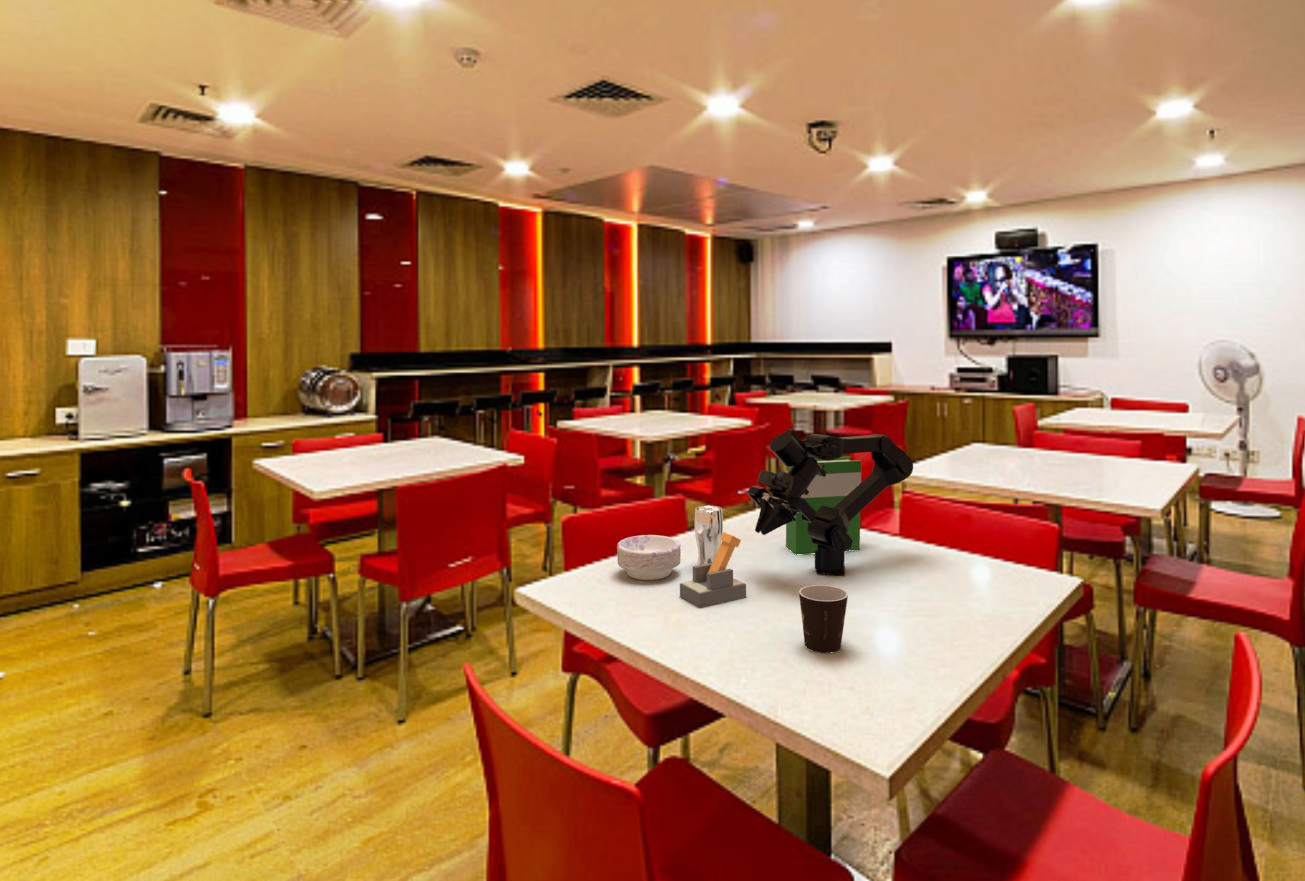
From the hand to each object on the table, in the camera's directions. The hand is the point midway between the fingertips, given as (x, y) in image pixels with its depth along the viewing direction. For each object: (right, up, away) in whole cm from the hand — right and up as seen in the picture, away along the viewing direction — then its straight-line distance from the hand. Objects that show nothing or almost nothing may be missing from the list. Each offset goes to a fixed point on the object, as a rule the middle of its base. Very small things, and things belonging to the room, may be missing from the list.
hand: (759, 532), depth 163 cm
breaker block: (-11, -13, -4) cm, 18 cm away
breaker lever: (-11, -9, -5) cm, 15 cm away
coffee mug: (+6, -17, -32) cm, 37 cm away
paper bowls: (-25, -12, +12) cm, 30 cm away
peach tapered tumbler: (-10, -11, +16) cm, 22 cm away
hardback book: (+21, -8, +31) cm, 38 cm away
